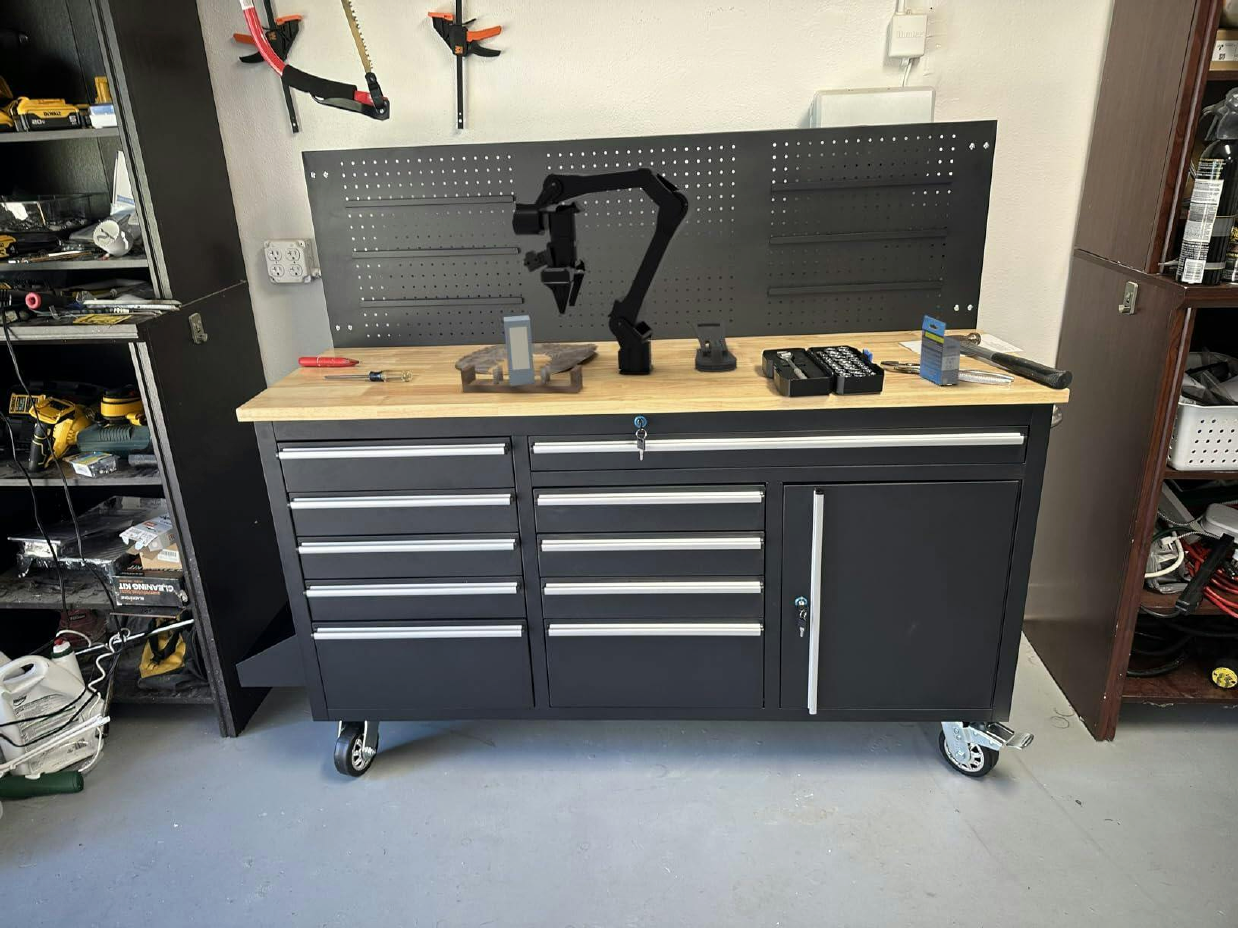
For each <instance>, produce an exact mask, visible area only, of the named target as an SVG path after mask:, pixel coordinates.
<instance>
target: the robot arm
mask: <svg viewBox="0 0 1238 928" xmlns="http://www.w3.org/2000/svg"><path fill="white" fill-rule="evenodd" d="M637 188H639V189H642V191H643V192H645V194H646V195H647V196H648V197H649V199H650V200H651V201H652V202H653V203H654V204H655V205H657V206H658V212H657V215H656V224H655V230H654V233H653V236H652V238H651V240H650V243H649V245H648V247H647V250H646V252H645V255H644V256H643V259H642V261H641V264H640V265H639V268H638V270H637V272H636V275H635V277H634V279H633V281H632V284H631V286H630V288H629V290H628V293H627V294H626V295H625V294H623V295H621V296H619V297H617V298H616V299H614V302H613V305H612V309H611V311H610V313H609V314H608V315H607V318H609V320H608V328H609V330H610V333H612V335H613V336H615V338H616V341H617V343H618V346H619V349H618V351H617V364H618V370H619V372H618V373H619V375H650V374H651V371H652V370H653V368H654V364H653V363H652V341H651V339H652V338H653V333H654V329H653V328H652V327H651V326H650V325H649V324H648V322H646V321H645V316H646V312H647V303H648V299H649V296H650V293H651V292H652V289H653V287H654V284H655V282H656V280H657V278H658V275H659V273H660V271H661V269H662V267H663V264H664V263H665V260H666V258H667V256H668V254H669V251H670V249H671V247H672V245H673V242H674V240H675V238H676V237H677V236H678V234H679V233H680V232H681V231H682V229H683V228H684V227H685V225H686V224H687V223H688V221H689V220H690V219H691V217H692V215H693V214H694V212H695V210H696V206H697V203H696V200H695V197H694V195H693V194H692V193H691V192H690V191H688V190H686V189H680V188H679V187H678V186H677V185H675V184H674V183H673V182H671V181H670V180H669V179H667V178H665V176H663V175H662V174H661V173H659V172H658V171H657V170H656V169H655V168H654V167H652V166H641V167H639V168H635V169H626V170H625V169H624V170H617V171H609V172H601V173H593V174H592V173H591V174H589V173H581V172H580V173H579V172H566V171H564V172H554V173H553V172H552V173H549V174H548V175H546V177H545V178H544V180H543V183H542V190H541V191H540V194H539V195H538V197H537V199H536V200H535V203H532V202H531V203H529V202H528V203H527V202H516V203H515V204H514V205H515V210H514V211H513V215H512V221H511V224H512V229H513V233H514V234H515V236H516V237H540V236H541V237H543V236H544V235H545V234H546V232H547V231H549V234H548V235H549V241H547V242H546V243H545V245H546V246H545V247H546V248H545V249H544V250H541V251H539V252H537V251H536V250H534V249H532V250H530V251H527V252H525V255H524V257H525V258H523V261H524V262H523V267H526V268H527V270H528V272H529V273H532V272H534V271H536V270H539V269H540V268H542V267H544V266H546V267H544V268H543V269H542V270H541V271H540V272H539V273H540V283H543V285H544V286H546V287H547V288H548V289H550V291H551V292H552V295H553V298H554V300H555V303H556V306H557V309H558V312H559V315H565V314H566V312H567V308H568V305H569V306H570V307H576V303H577V301H578V297H579V295H580V292H581V289H582V286H583V284H584V280H585V278H586V275H587V273H588V272H587V271H588V270H589V262H588V259H586V258H585V257H582V256H581V257H579V256H578V255H579V254H578V251H579V250H578V246H579V245H580V238H578V235H577V234H578V233H577V218H576V217H577V216H576V214H580V213H581V214H582V213H585V212H586V208H585V207H584V206H582V205H581V204H580V203H579V202H578V200H575V199H578V198H581V197H584V196H587V195H590V194H592V193H593V194H595V193H602V192H612V191H621V190H628V189H637ZM571 200H573V201H571ZM569 201H571V203H570V204H560V203H563V202H569ZM551 207H556V208H555V209H552V210H551V209H548V208H551Z"/></svg>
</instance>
